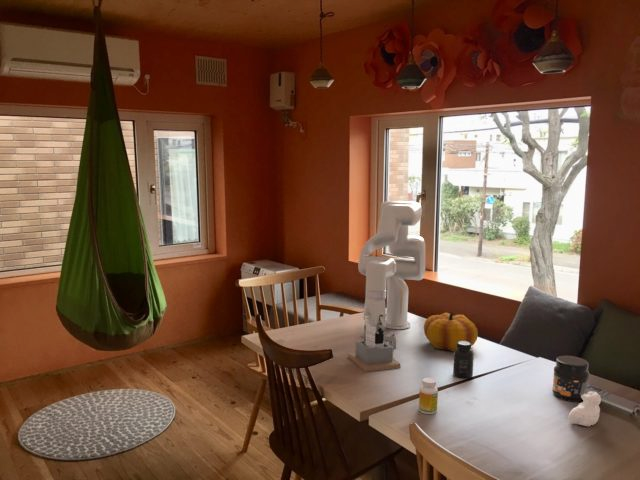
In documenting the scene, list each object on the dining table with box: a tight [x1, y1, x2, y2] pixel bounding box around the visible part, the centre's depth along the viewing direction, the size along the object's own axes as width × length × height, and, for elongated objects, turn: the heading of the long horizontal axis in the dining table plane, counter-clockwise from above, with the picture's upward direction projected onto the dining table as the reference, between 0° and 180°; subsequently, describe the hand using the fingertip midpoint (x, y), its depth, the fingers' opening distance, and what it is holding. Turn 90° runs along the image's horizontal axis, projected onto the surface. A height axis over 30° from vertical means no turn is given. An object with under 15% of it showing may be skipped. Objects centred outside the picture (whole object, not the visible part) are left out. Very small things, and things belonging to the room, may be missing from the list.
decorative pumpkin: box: [423, 311, 479, 353], centre depth 225 cm, size 20×22×15 cm
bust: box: [567, 390, 602, 427], centre depth 160 cm, size 12×8×11 cm
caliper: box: [360, 333, 397, 350], centre depth 229 cm, size 20×1×6 cm, turn 38°
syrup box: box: [363, 315, 386, 349], centre depth 206 cm, size 6×6×14 cm
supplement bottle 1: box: [418, 377, 439, 415], centre depth 167 cm, size 5×5×10 cm
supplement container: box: [552, 355, 590, 402], centre depth 179 cm, size 10×10×12 cm
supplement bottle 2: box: [452, 341, 475, 380], centre depth 195 cm, size 7×7×12 cm
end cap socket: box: [348, 339, 401, 373], centre depth 207 cm, size 16×14×7 cm
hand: (374, 339), depth 206 cm, fingers open, 7 cm apart
